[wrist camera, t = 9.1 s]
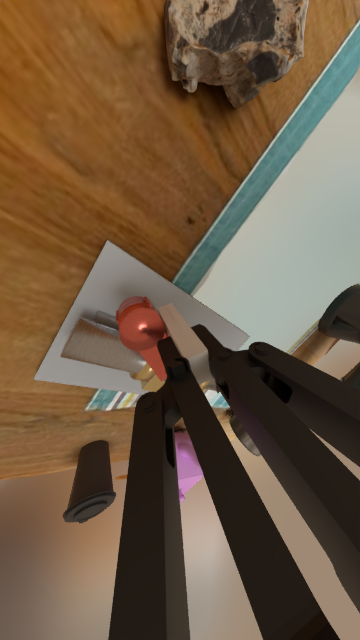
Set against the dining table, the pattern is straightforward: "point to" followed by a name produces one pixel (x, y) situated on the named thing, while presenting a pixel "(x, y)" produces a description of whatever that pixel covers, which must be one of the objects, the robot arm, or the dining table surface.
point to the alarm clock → (243, 435)
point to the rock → (233, 43)
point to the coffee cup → (91, 484)
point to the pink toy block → (186, 464)
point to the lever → (142, 331)
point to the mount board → (106, 295)
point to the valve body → (111, 351)
